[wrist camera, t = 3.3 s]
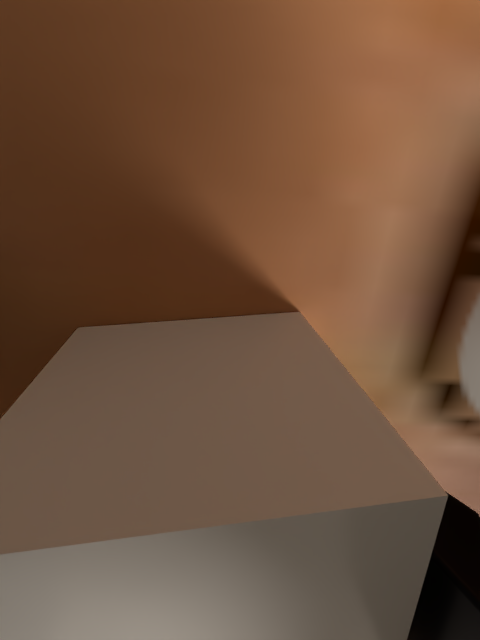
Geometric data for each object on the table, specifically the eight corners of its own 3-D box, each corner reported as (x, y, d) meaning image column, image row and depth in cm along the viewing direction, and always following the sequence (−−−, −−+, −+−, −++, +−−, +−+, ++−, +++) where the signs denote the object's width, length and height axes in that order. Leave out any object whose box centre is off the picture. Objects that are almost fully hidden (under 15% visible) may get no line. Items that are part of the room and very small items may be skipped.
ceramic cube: (300, 311, 8) (448, 495, 3) (293, 472, 10) (379, 731, 5) (77, 327, 7) (-129, 570, 3) (116, 493, 9) (35, 802, 5)
